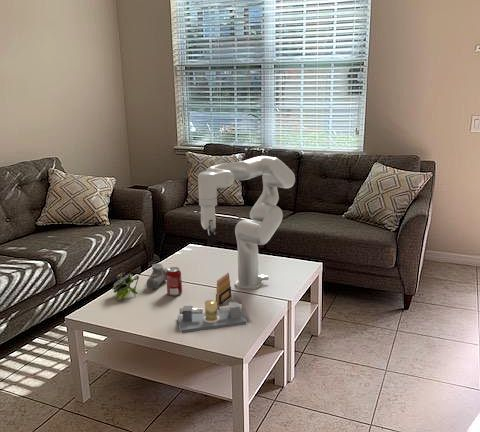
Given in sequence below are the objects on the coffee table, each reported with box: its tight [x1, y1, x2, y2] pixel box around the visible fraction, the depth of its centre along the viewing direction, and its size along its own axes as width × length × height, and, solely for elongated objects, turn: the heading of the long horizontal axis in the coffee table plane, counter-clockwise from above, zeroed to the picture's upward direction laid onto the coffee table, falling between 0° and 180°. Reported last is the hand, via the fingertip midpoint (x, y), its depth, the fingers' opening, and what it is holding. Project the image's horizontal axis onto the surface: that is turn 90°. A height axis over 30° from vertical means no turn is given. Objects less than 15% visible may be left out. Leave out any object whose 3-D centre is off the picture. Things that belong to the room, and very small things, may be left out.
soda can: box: [166, 266, 183, 297], centre depth 232 cm, size 7×7×12 cm
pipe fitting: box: [146, 263, 168, 290], centre depth 242 cm, size 12×8×10 cm, turn 163°
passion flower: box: [111, 272, 140, 301], centre depth 231 cm, size 13×12×14 cm
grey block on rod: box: [179, 305, 204, 322], centre depth 205 cm, size 9×4×5 cm, turn 89°
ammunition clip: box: [215, 272, 232, 307], centre depth 223 cm, size 11×2×12 cm, turn 152°
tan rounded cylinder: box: [204, 299, 218, 321], centre depth 205 cm, size 5×5×7 cm
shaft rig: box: [177, 301, 247, 334], centre depth 205 cm, size 26×12×6 cm, turn 104°
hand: (209, 240), depth 218 cm, fingers open, 9 cm apart
